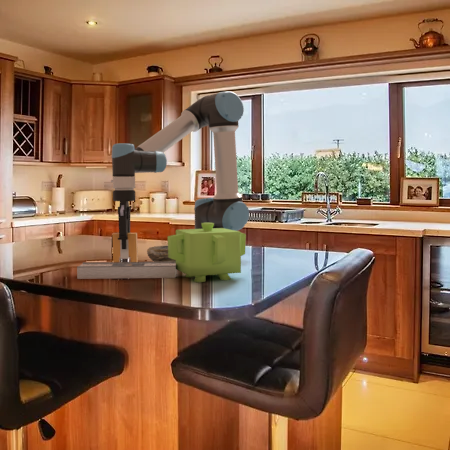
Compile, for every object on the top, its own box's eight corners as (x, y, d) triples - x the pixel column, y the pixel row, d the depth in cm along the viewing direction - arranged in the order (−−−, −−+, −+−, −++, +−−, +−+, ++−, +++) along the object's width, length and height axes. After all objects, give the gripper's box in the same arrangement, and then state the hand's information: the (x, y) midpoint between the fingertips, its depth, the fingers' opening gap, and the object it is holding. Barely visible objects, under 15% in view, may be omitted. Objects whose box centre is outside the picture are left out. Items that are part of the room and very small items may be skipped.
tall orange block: (137, 266, 168) (137, 232, 167) (136, 268, 165) (136, 233, 164) (114, 267, 167) (113, 232, 166) (113, 268, 164) (112, 233, 163)
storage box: (180, 288, 134) (180, 226, 133) (158, 274, 155) (158, 221, 154) (260, 281, 144) (260, 224, 143) (229, 269, 165) (229, 219, 164)
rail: (176, 273, 157) (176, 261, 157) (175, 277, 149) (175, 265, 149) (83, 274, 155) (82, 262, 155) (77, 278, 147) (77, 266, 147)
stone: (157, 257, 167) (151, 235, 173) (147, 274, 174) (141, 252, 180) (191, 258, 175) (184, 236, 180) (180, 274, 181) (173, 252, 187)
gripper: (116, 189, 171) (118, 254, 173) (108, 189, 155) (110, 261, 157) (137, 189, 172) (139, 254, 174) (132, 189, 156) (133, 261, 158)
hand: (125, 257), depth 165 cm, fingers closed on tall orange block, 3 cm apart
